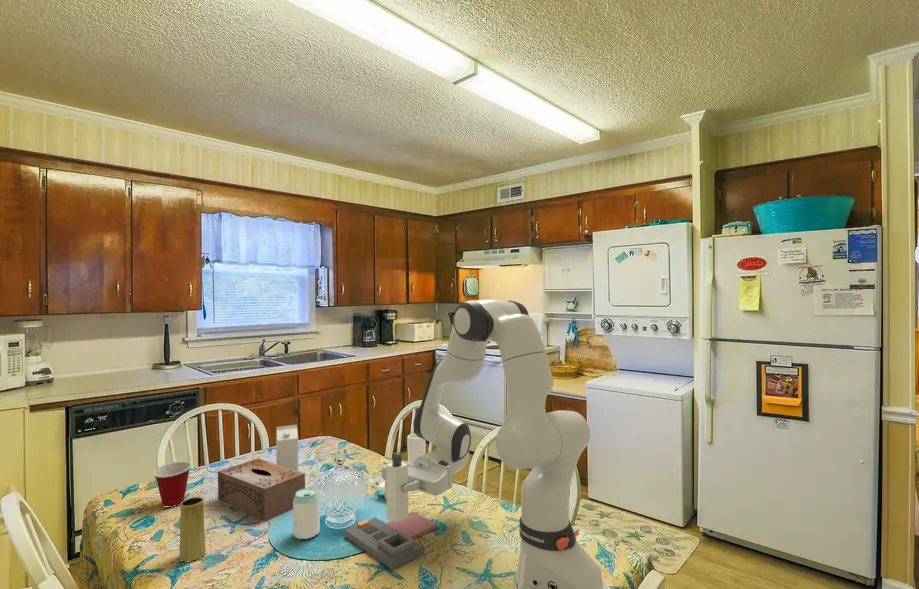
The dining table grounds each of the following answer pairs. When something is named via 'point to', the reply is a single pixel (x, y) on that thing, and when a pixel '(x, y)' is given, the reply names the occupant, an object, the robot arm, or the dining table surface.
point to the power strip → (384, 542)
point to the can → (306, 513)
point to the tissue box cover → (260, 488)
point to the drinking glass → (415, 447)
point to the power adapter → (381, 488)
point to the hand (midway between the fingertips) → (394, 486)
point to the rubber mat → (413, 525)
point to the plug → (396, 489)
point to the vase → (192, 529)
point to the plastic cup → (172, 482)
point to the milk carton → (287, 446)
